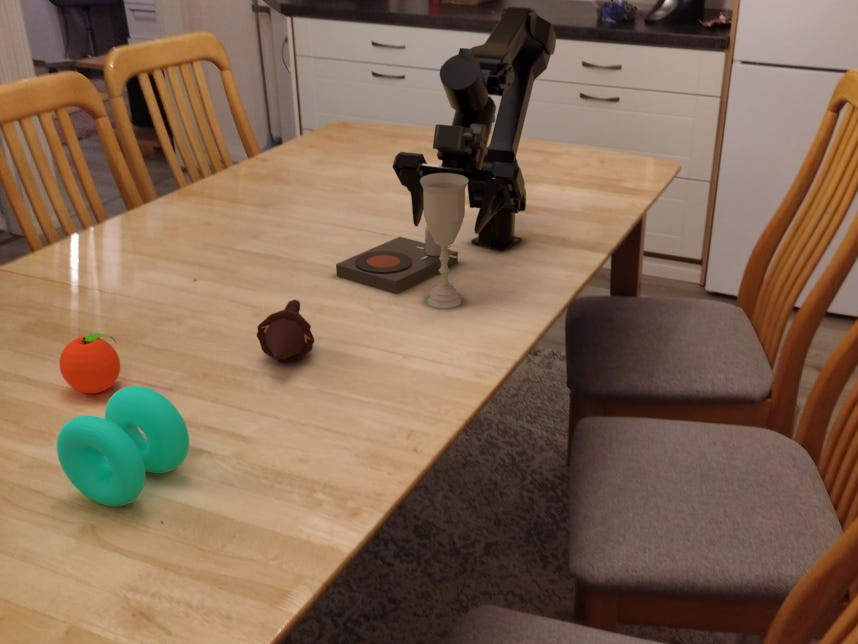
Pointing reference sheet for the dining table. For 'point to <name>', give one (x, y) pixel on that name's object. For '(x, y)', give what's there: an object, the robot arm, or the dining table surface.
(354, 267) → the hob
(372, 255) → the burner
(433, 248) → the hob knob
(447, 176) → the chalice
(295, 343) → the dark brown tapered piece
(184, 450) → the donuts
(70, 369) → the clementine
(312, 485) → the dining table surface
